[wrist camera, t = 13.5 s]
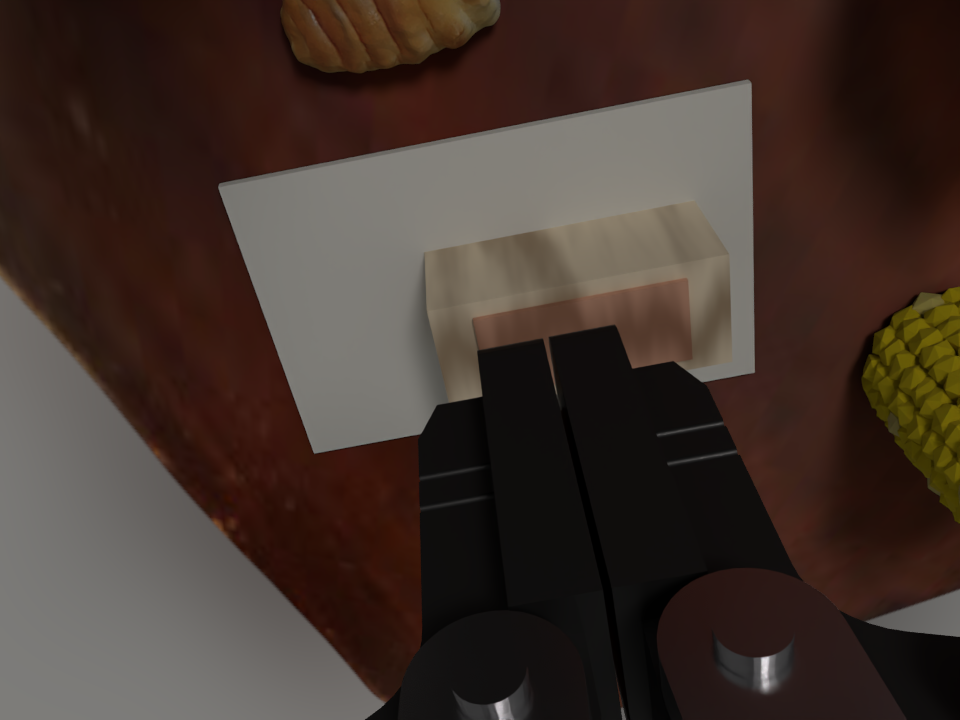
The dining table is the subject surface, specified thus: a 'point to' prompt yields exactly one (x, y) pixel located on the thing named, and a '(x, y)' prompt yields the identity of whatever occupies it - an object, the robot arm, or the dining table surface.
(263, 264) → the grey mat
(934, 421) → the food
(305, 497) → the dining table surface
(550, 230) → the maple block
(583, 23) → the dining table surface
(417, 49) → the pastry
